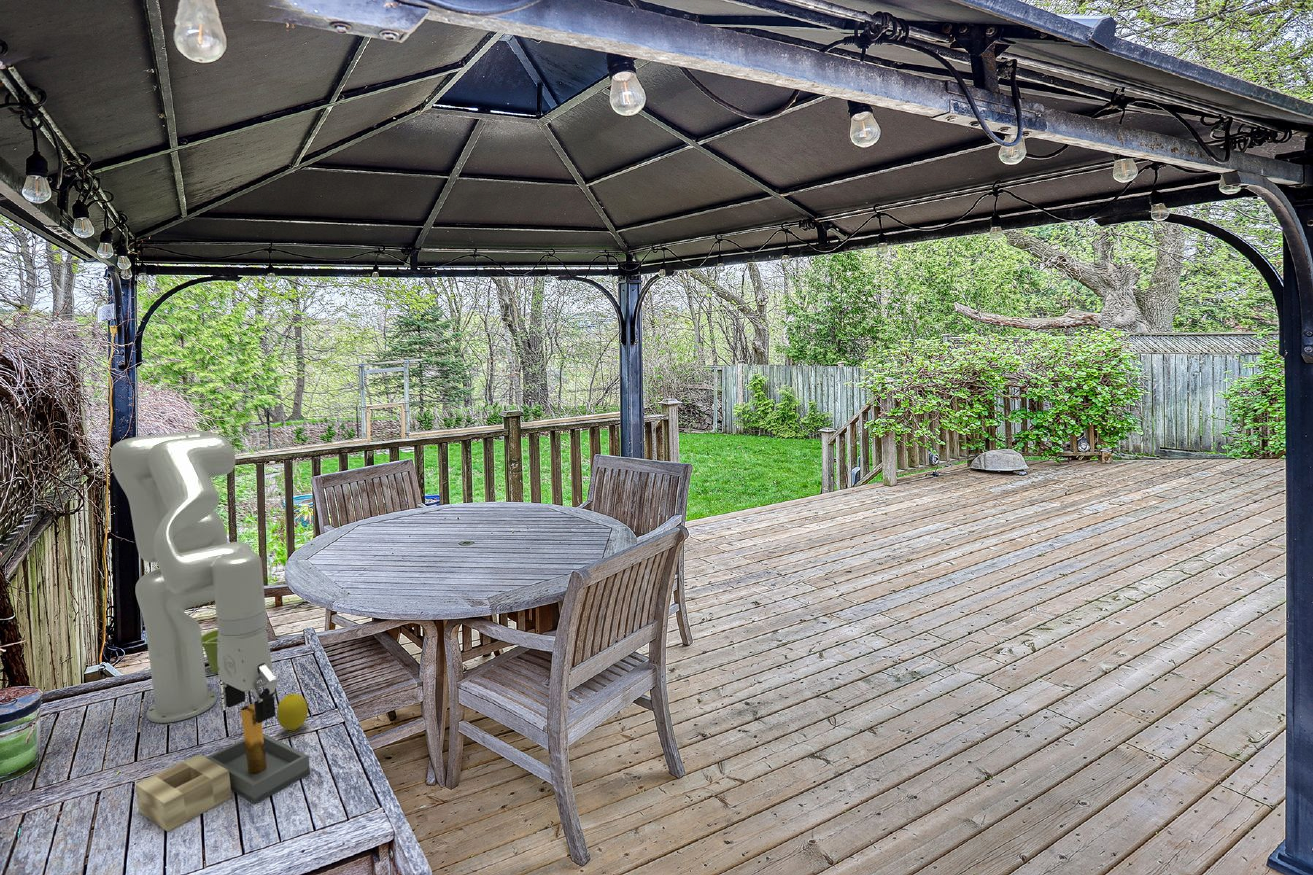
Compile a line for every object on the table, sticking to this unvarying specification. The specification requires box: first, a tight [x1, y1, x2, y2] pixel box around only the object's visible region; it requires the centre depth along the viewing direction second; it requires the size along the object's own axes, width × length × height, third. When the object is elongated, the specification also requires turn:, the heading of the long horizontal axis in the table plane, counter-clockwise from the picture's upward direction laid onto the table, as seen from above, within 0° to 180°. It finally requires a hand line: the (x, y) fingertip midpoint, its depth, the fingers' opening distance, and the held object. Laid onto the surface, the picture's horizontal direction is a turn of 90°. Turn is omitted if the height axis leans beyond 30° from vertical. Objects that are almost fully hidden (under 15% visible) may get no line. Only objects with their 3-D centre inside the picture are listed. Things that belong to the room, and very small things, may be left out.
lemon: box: [276, 692, 309, 732], centre depth 142 cm, size 6×6×8 cm
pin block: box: [134, 753, 233, 832], centre depth 119 cm, size 10×10×5 cm
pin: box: [240, 703, 267, 774], centre depth 127 cm, size 3×3×12 cm
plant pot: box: [201, 628, 218, 674], centre depth 170 cm, size 9×9×9 cm
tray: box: [206, 733, 311, 805], centre depth 127 cm, size 16×10×4 cm, turn 59°
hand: (250, 711), depth 126 cm, fingers open, 9 cm apart
